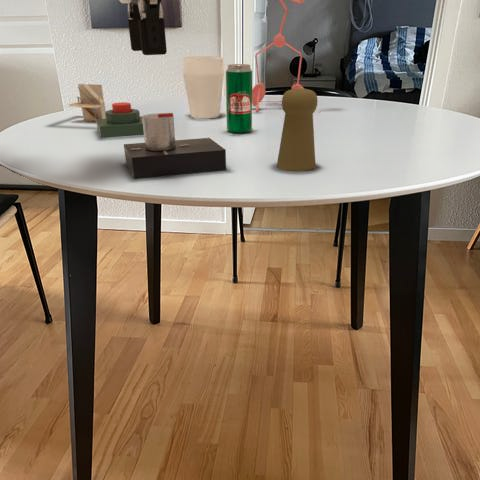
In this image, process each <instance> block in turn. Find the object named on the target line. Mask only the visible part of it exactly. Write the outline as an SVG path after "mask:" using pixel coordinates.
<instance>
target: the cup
mask: <svg viewBox="0 0 480 480" xmlns="http://www.w3.org/2000/svg"><path fill="white" fill-rule="evenodd" d="M224 69H225V68H224V58H223V56H186V57H183V59H182V75H183V80H184V87H185V92H186V98H187V103H188V107H189V108H188V109H189V114H190V117H191V118H193V119H200V120H201V119H203V120H204V119H205V120H206V119H208V120H209V119H211V120H212V119H216V118H219V117H220V115H221V104H222V97H223V96H222V95H223V86H224V85H223V84H224V76H225V71H224Z"/></svg>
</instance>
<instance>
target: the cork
mask: <svg viewBox="0 0 480 480" xmlns="http://www.w3.org/2000/svg"><path fill="white" fill-rule="evenodd" d="M303 88H304V87H303ZM303 88H297V89H288V90H286V91H284V93H283V95H282V98H281V101H282V102H281V108H282V110H283V112H284V119H283V125H282V129H281V130H282V132H281V136H280V144H279V149H278V155H277V161H276V167H277V168H278V169H280V170H283V171H288V172H307V171H311V170H314V169H315V168H316V149H315V148H316V147H315V131H314V112H315V111H316V110H317V107H318V96H317V93H316V92H315V91H314V90H311V89H308V88H304V89H303Z"/></svg>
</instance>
